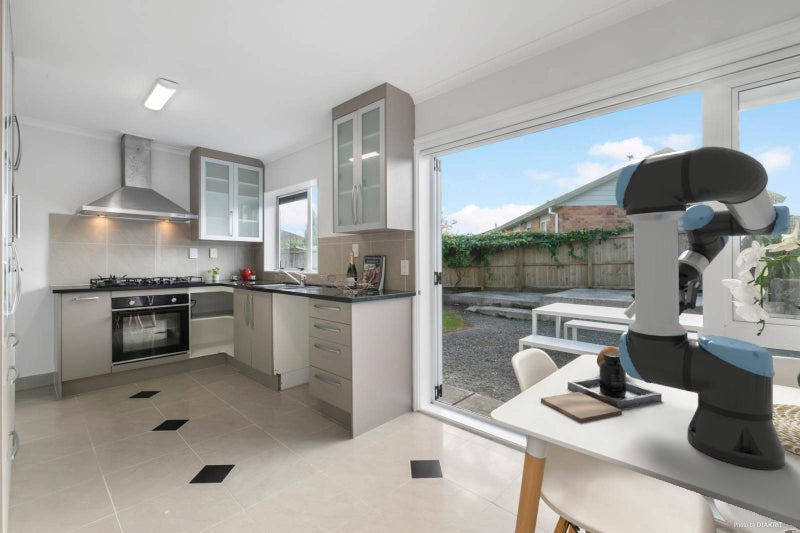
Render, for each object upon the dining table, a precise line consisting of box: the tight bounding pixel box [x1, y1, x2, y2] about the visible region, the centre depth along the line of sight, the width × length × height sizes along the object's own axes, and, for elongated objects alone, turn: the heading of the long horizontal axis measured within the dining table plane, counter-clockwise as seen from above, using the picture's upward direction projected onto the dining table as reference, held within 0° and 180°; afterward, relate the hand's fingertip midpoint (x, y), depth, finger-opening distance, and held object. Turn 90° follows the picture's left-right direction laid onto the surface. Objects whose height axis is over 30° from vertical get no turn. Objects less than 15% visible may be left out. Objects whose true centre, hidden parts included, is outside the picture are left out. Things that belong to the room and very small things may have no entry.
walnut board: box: [540, 391, 623, 423], centre depth 98 cm, size 14×14×1 cm
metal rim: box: [567, 376, 663, 410], centre depth 108 cm, size 17×17×2 cm
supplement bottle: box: [599, 353, 627, 399], centre depth 108 cm, size 7×7×12 cm
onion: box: [596, 345, 619, 368], centre depth 126 cm, size 10×10×10 cm
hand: (644, 319), depth 110 cm, fingers open, 13 cm apart
